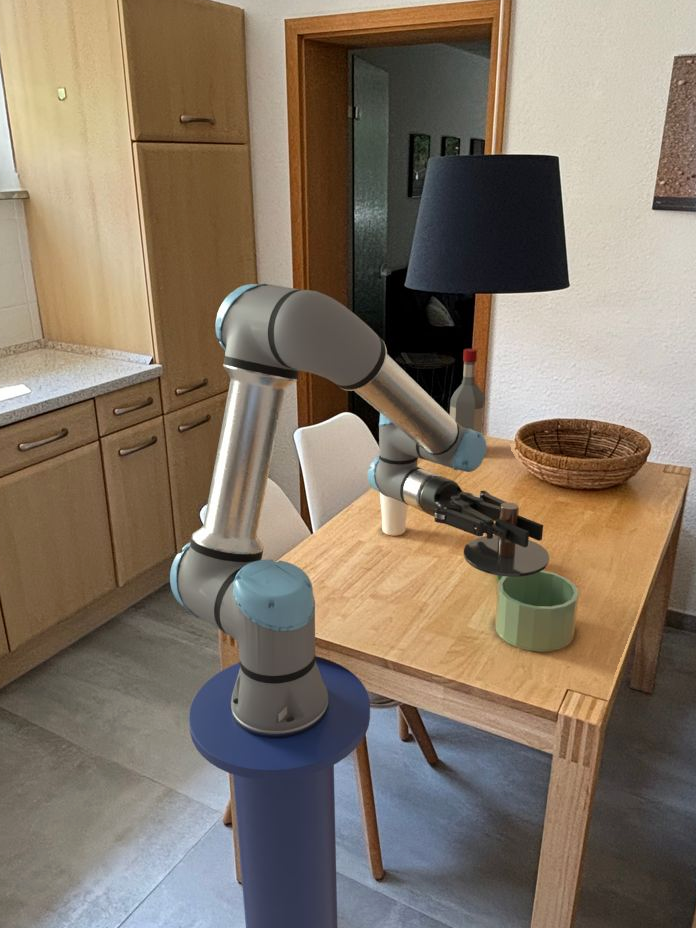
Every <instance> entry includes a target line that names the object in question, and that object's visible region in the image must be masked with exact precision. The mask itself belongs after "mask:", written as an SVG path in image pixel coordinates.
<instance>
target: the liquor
mask: <svg viewBox="0 0 696 928" xmlns="http://www.w3.org/2000/svg"><path fill="white" fill-rule="evenodd" d="M462 356H463V357H462V361H463V372H462V374H463V375H462V376H463V377H462V380H461V384H460V385H459V386H458V387H457V388H456V390H454V392H453V394H452V396H451V398H450V401H449V402H450V403H449V415H450V416H451V417H452V418H453V419H454V420H455V421H456V422H457V423H458V424H459V425H460V426H462V427H463V428H466V429H472V430H474V431H477V432H479V433H481V434H482V435H483V436H484V423H485V406H486V397H485V393H484V392H483V391H482V389H481V388H480V387H479V386H478V385H477V383H476V378H475V377H476V362H477V356H478V350H477V349H475V348H465V349H463V354H462Z"/></svg>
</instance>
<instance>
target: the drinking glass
mask: <svg viewBox="0 0 696 928" xmlns="http://www.w3.org/2000/svg"><path fill="white" fill-rule="evenodd" d="M379 503H380V514H381V531H382V532H383V533H384V534H386V535H388V536H393V537H395V536H400V535H403V534H404V533H405V532H406V529H407V528H406V527H407V526H406V525H407V524H406V523H407V515H408V506H409V505H407V504H405V503H403V502H401V501H398V500H396V499H393V498H391V497H387V496H385V495H383V494H382V493H380V492H379Z"/></svg>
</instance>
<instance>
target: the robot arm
mask: <svg viewBox="0 0 696 928" xmlns="http://www.w3.org/2000/svg"><path fill="white" fill-rule="evenodd" d="M215 334H216V338H217V339H218V340H219V345H220V346H221V348H222V349H223V351H225V352H224V359H223V364H222V366H223V368H224V369H225V371H226V373H227V375H228V377H229V378H230V380H229V381H230V382H229V387H228V392H227V397H226V403H225V407H224V412H223V418H222V425H221V430H220V435H219V441H218V444H217V445H218V446H217V451H216V456H215V462H214V468H213V473H212V479H211V483H210V489H209V495H208V500H207V504H206V509H205V516H204V521H203V525H202V526H201V528H198V529H197V530H195V531H194V532H193V533H192V534H191V538H190V542H188V543H186V544H185V545H184V546H183V547H182V548H181V552H179V553H177V554H176V555H175V557H174V559H173V562H172V564H171V568H170V572H169V573H170V574H169V585H170V588H171V591H172V594H173V596H174V598H175V599H176V600H177V602H178V603H179V604H180V605H181V606H182V607H183V608H185V609H186V610H187V612H189V613H190V614H191V615H193V616H195V617H196V618H200V619H201V620H203V621H205V622H206V623H208V624H209V625H211V626H213V627H214V628H216V629H218V630H220V631H221V632H223V633H225V634H226V635H228V636H229V637H231V638H232V639H234V640H236V642H237V645H238V656H239V662H240V670H239V673H238V676H237V680H236V682H235V686H234V690H233V693H232V699H231V709H232V716H233V719H234V720H235V722H236V723H237V724H238V726H239V727H241V728H242V729H243V730H245V731H247V732H248V733H251V734H253V735H256V736H260V737H266V738H285V737H291V736H295V735H299V734H301V733H304V732H306V731H308V730H310V729H312V728H313V727H315V726H316V725H317V724H318V723H320V721H321V720H322V719H323V718H324V717H325V715H326V713H327V710H328V692H327V688H326V685H325V683H324V681H323V679H322V677H321V674H320V671H319V669H318V666H317V664H316V660H315V656H316V599H315V596H314V589H313V584H312V581H311V579H310V576H308V574H307V573H306V572H305V571H304V570H303V569H301V568H300V566H297V565H295V564H293V563H291V562H288V561H284V560H278V561H274V559H263V553H264V548H265V547H264V545H263V542H261V540H260V539H259V537H258V531H259V526H260V520H261V516H262V515H261V514H262V510H263V505H264V500H265V495H266V491H267V486H268V485H267V484H268V480H269V475H270V469H271V466H272V465H271V464H272V460H273V454H274V449H275V445H276V439H277V433H278V429H279V424H280V418H281V414H282V413H281V412H282V407H283V403H284V398H285V393H286V390H287V389H288V388H289V387H290V386H292V385H294V384H295V383H296V382H297V381H298V377H299V373H300V371H302V372H305V373H309V374H310V373H311V374H313V375H317V376H319V377H322V378H325V379H327V380H329V381H331V382H332V383H334V384H335V385H336V386H337V387H339V388H340V389H341V390H344V391H347V392H348V391H349V392H352V391H354V393H356V394H357V395H358V396H360V397H361V398H362V399H363V400H364V401H366V403H368V404H369V405H370V406H372V407H373V408H374V409H375V410H376V411H377V412H378V413H379V423H378V439H379V441H378V446H379V448H378V449H379V451H378V452H379V454H378V456H377V457H375V458H374V459H373V460H372V461H371V462H370V465H369V469H368V470H367V482H368V484H369V486H370V487H371V488H372V489H373V490H375V491H377V492H379V494H380V493H382V494H383V495H385V496H387V497H391V498H393V499H396V500H398V501H401V502H403V503H405V504H407V505H408V506H410V507H412V508H414V509H416V510H419V511H420V512H423V513H425V514H427V515H429V516H432V517H434V522H435V523H437V524H438V523H439V524H443V525H448V526H449V527H453V528H455V529H457V530H460V531H463V532H466V533H468V534H471V535H473V536H476V537H478V538H480V537H484V534H486V536H487V538H488V539H492V538H493V535H496V536H499V537H501V538H504V539H506V540H508V541H511V542H513V543H515V544H518V545H520V546H522V547H527V546H528V540H530V539H529V538H531V539H532V540H536V541H538V542H541V541H542V540H543V532H544V524H542V523H539V522H536V521H534V520H531V519H529V518H527V517H524V516H521V515H519V514H518V521H517V526H514V525H512V524H510V523H507V522H505V521H502V520H500V506H501V504H502V503H506V502H507V501H505V500H503V499H501V498H498V497H496V496H494V495H491V494H490V493H489V492H488V491H487V490H480V492H479V494H475V495H474V494H473V493H472V492H468V491H467V492H466V491H463V489H462V488H461V487H460V485H459V484H458V483H457V482H456V481H455V480H453V479H450V478H447V477H444V476H442V475H440V474H437V473H434V472H432V471H429V470H426V469H424V468H422V467H419V466H418V459H421V460H423V461H428V462H431V463H434V464H437V465H441V466H443V467H447V468H450V469H453V471H462V472H466V473H472V472H474V471H476V470H477V469H478V468H479V467H480V466H481V465H482V463H483V460H484V459H485V457H486V454H487V441H486V437H485V436H484V434H483V435H482V434H481V433H479V432H477V431H474V430H472V429H466V428H463V427H462V426H460V425H459V424H458V423H457V422H456V421H455V420H454V419H453V418H452V417H451V416H450V413H448V412H447V411H446V410H445V409H444V408H443V407H442V406H441V405H440V404H439V403H438V402H437V401H436V400H435V399H434V398H432V396H431V395H429V394H428V392H427V391H426V390H424V389H423V388H422V386H420V384H418V383H417V382H416V381H415V379H413V377H411V376H410V375H409V374H408V373H407V372H406V371H405V370H404V369H403V368H402V367H401V366H400V365H399V364H398V363H397V362H396V361H395V360H394V359H393V358H392V357H391V356H390V355H389V354H388V350H387V346H386V344H385V341H384V340H383V339H382V337H380V336H379V335H378V334H377V333H376V331H374V330H373V329H372V328H371V327H370V326H369V325H368V324H367V323H366V322H365V321H363V320H362V319H361V318H360V317H359V316H358V315H356V314H355V313H354V312H353V311H351V310H350V309H349V308H348V307H346V306H345V305H344V304H342V303H340V302H339V301H338V300H336V299H335V298H333V297H331V296H329V295H327V294H325V293H322V292H319V291H316V290H310V289H299V288H293V287H288V286H282V285H275V284H271V283H261V284H260V283H259V284H258V283H248V284H245V285H240V286H238V287H237V288H236V289H234V290H233V291H232V292H230V293H229V294H228V295H227V296H226V297H225V298H224V300H223V301H222V303H221V305H220V307H219V308H218V311H217V314H216V318H215ZM519 509H520V508H518V513H519Z"/></svg>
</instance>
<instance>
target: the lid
mask: <svg viewBox="0 0 696 928" xmlns="http://www.w3.org/2000/svg"><path fill="white" fill-rule="evenodd" d="M505 502H506V503H502V504H501V506H500V520H502V521H505V522H507V523H510V524H512V525H514V526H517V521H518V515H519V512H518V508H519V505H518V503H515V502H510V501H509V502H507V501H505ZM519 509H520V508H519ZM463 558H464V560H465V561H466V562H467V564H469V565H470V566H471V567H472V568H474V569H476V570H477V571H480V572H483V573H486V574H489V575H492V576H493V575H494V576H497V575H498V576H506V577H520V576H528V575H532V574H535V573H538V572H540V571H542V570H543V571H544V570H545V569H546V568H547V567H548V566H549V563H550V554H549V552H548V551H547V549H546V548H545V547H543V546H542V545H541V544H539V543H537V541H534V540H531V539H528V546H527V547H522V546H520V545H518V544H515V543H513V542H511V541H508V540H506V539H504V538H501V537H499V536H496V535H494V534H493V538H492V539H488V538H487V535H483V536H480V537H477V538H474V539H472V540H470V541H469V542H468V543H467V544H465V546H464V548H463Z"/></svg>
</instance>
